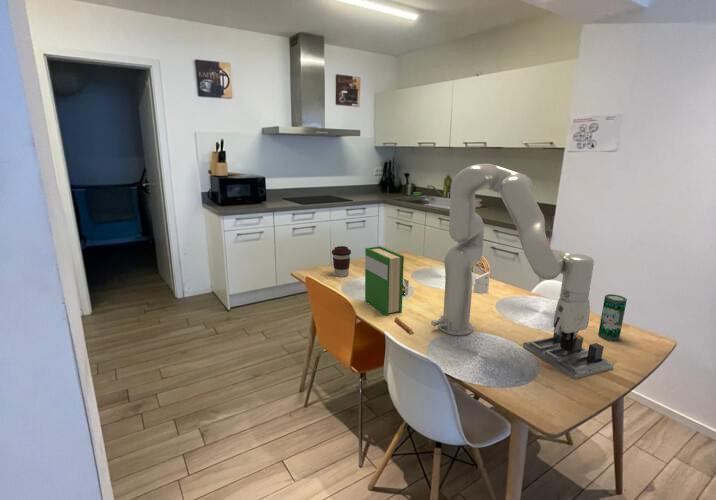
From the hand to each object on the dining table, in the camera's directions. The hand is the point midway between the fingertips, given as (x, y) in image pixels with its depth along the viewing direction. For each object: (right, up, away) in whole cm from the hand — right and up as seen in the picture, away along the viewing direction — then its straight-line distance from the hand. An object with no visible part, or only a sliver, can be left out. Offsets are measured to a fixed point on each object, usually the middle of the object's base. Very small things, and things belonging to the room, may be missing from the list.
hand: (566, 348), depth 122 cm
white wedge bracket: (-9, +12, +58) cm, 59 cm away
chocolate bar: (-49, +2, +22) cm, 54 cm away
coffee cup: (-75, +18, +81) cm, 112 cm away
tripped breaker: (+4, -1, +2) cm, 4 cm away
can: (+23, 0, +15) cm, 27 cm away
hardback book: (-56, +7, +40) cm, 69 cm away
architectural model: (-45, +11, +55) cm, 72 cm away
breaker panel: (0, -3, +1) cm, 3 cm away
